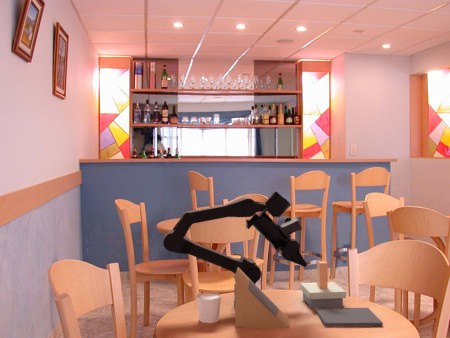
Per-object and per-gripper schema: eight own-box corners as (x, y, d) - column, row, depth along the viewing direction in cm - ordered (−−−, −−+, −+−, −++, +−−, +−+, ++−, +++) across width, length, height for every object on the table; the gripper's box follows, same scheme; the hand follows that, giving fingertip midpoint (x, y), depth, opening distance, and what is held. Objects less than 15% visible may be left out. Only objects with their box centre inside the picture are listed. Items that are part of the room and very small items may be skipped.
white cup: (193, 322, 138) (193, 297, 138) (202, 314, 144) (202, 291, 144) (215, 325, 136) (215, 300, 135) (224, 317, 142) (224, 293, 142)
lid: (309, 299, 149) (309, 266, 149) (300, 288, 161) (300, 258, 160) (345, 298, 151) (345, 265, 150) (333, 287, 162) (334, 258, 162)
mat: (324, 326, 134) (324, 323, 134) (315, 311, 147) (315, 308, 147) (382, 326, 135) (382, 322, 134) (367, 310, 148) (367, 307, 147)
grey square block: (311, 308, 150) (311, 295, 150) (302, 298, 160) (302, 286, 160) (342, 307, 151) (342, 294, 151) (332, 297, 161) (332, 285, 161)
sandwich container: (291, 329, 133) (291, 274, 132) (235, 327, 134) (235, 273, 134) (290, 318, 141) (290, 267, 141) (237, 317, 143) (237, 266, 142)
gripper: (293, 213, 144) (329, 250, 146) (280, 206, 163) (312, 239, 164) (266, 240, 144) (303, 277, 145) (256, 230, 162) (288, 263, 164)
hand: (302, 262), depth 155 cm, fingers open, 9 cm apart
